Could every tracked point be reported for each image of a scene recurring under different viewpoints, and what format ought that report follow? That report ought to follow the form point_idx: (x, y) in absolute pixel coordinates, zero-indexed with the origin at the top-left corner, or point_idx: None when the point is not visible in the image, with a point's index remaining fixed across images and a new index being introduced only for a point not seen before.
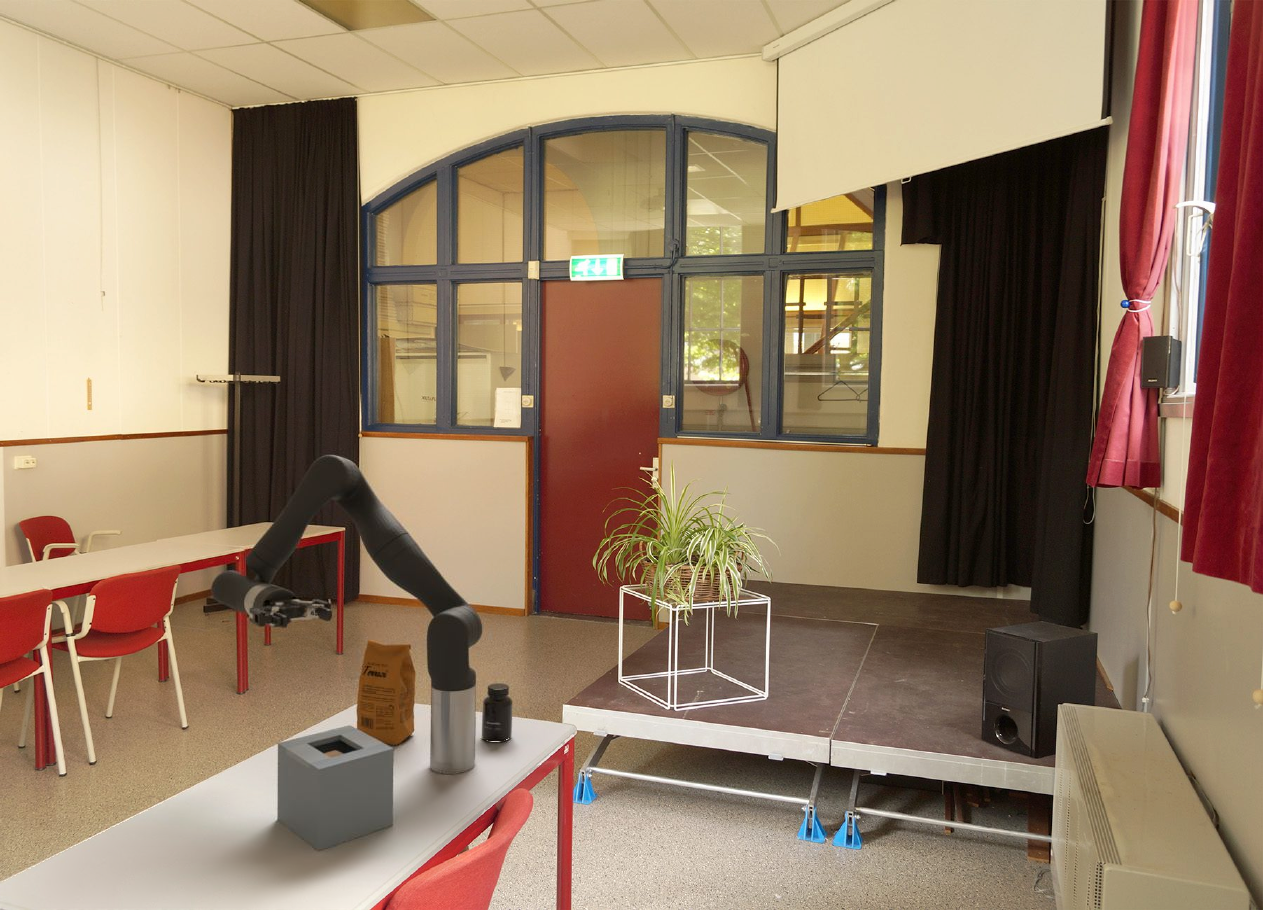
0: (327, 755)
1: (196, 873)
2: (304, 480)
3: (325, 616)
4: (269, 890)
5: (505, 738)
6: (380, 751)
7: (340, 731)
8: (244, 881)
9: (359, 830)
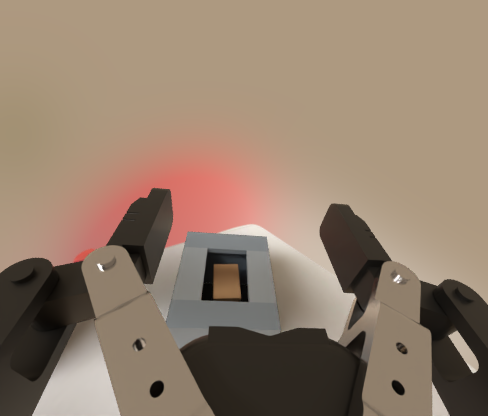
0: (230, 289)
1: (340, 311)
2: None
3: (168, 219)
4: (296, 260)
5: None
6: (201, 233)
7: (192, 311)
8: (309, 278)
9: None
